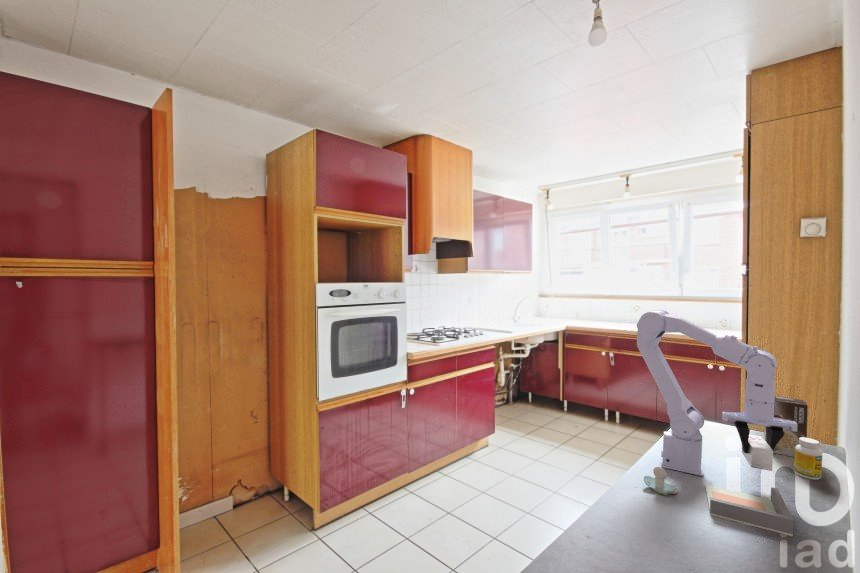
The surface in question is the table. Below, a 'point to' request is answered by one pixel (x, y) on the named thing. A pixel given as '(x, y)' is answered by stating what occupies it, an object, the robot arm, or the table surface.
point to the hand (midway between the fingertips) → (756, 453)
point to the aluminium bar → (759, 453)
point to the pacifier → (660, 482)
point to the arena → (751, 509)
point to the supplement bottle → (808, 459)
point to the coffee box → (791, 412)
